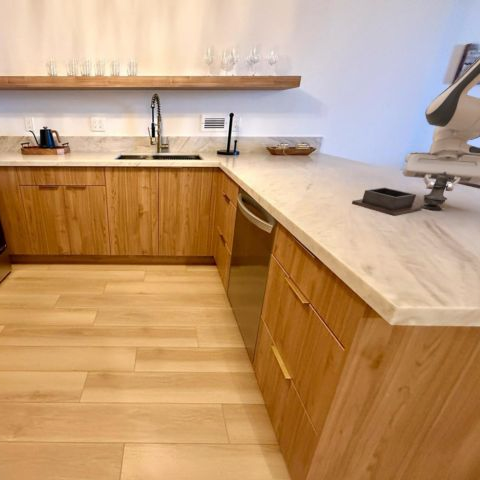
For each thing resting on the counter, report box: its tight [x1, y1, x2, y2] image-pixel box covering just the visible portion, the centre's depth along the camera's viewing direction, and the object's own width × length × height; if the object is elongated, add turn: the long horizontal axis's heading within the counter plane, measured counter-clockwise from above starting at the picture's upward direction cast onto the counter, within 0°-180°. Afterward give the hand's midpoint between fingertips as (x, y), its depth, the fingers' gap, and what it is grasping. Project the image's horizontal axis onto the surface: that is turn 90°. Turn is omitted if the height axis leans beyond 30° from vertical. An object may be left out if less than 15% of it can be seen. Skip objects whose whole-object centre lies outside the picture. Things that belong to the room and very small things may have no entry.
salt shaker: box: [420, 171, 449, 211], centre depth 93 cm, size 6×6×12 cm
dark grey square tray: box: [351, 187, 423, 217], centre depth 96 cm, size 14×14×5 cm
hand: (439, 189), depth 92 cm, fingers closed on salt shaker, 3 cm apart
